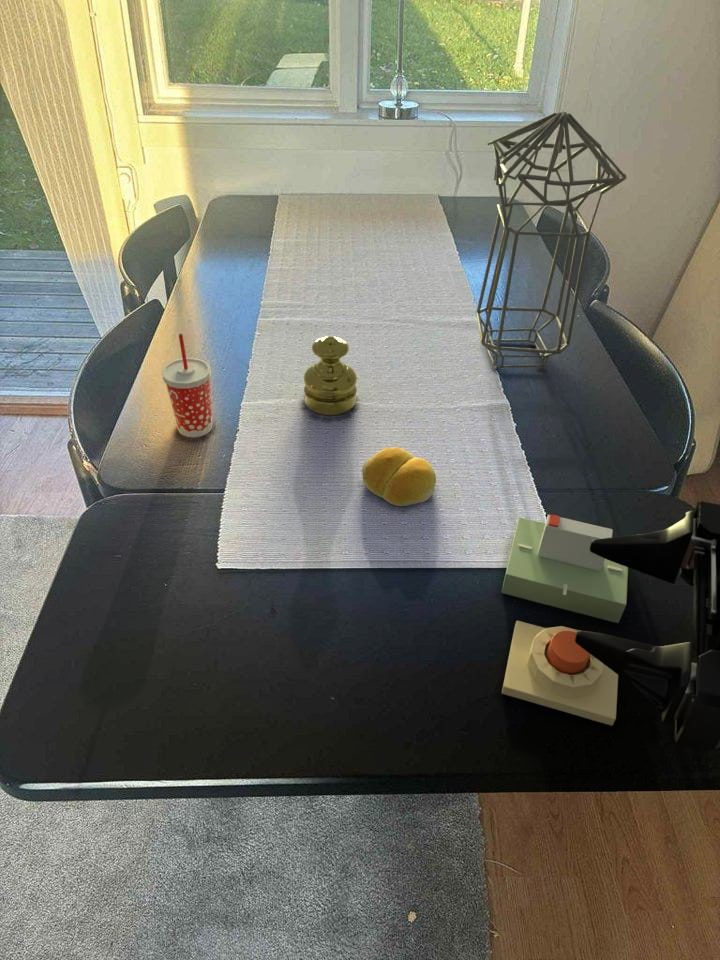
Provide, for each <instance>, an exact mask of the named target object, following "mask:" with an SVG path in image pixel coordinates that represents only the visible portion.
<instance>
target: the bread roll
mask: <svg viewBox="0 0 720 960" xmlns="http://www.w3.org/2000/svg"><path fill="white" fill-rule="evenodd" d="M361 475H362V480H363V483H364V485H365V487H366V488H367V490H369V491H370V492H371V493H373V494H374V495H376V496H377V497H379V498H382V499H383V500H384V501H386V502H388V503H389V504H391V505H393V506H396V507H406V506H411V505H416V504H421V503H424V502H426V501H427V500H428V499H430V498H431V497H432V495H433V494H434V491H435V487H436V484H437V483H436V482H437V476H436V472H435V469H434V468H433V466H432V464H431V463H430V462H429V461H427V460H426V459H424V458H421V457H415V456H414V455H413V454H412V453H410V452H409V451H408V450H406V449H403V448H401V447H397V446H396V447H386V448H384V449H383V448H382V449H381V450H379V451H378V452H376V453H375V454H373V456H371V457H370V458H369V459H367V461H366V462H365V463H364V464H363V466H362V468H361Z"/></svg>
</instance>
